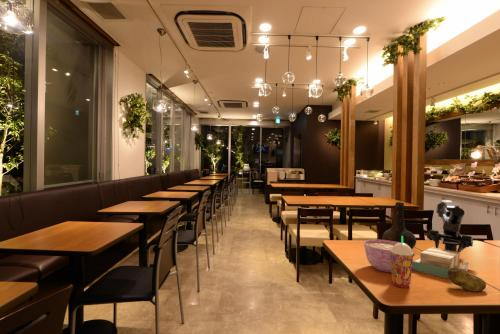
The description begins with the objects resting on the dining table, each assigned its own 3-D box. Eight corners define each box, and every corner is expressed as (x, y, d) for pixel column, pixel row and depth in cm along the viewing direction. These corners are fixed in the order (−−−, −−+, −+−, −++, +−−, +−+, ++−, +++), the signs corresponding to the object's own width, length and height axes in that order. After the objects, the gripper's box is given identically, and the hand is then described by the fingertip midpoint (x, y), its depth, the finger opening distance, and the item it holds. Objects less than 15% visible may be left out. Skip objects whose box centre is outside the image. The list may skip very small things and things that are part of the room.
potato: (487, 296, 115) (488, 275, 115) (447, 288, 122) (447, 268, 122) (485, 289, 122) (485, 269, 122) (447, 282, 129) (447, 263, 129)
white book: (426, 260, 160) (426, 252, 160) (468, 268, 147) (468, 260, 147) (411, 269, 144) (411, 261, 144) (456, 280, 131) (456, 271, 131)
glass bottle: (396, 255, 167) (397, 204, 167) (375, 247, 185) (376, 200, 184) (423, 254, 171) (424, 204, 171) (400, 245, 189) (401, 200, 189)
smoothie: (385, 281, 128) (387, 233, 128) (404, 281, 129) (406, 233, 129) (397, 289, 120) (398, 238, 120) (417, 289, 121) (418, 238, 121)
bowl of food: (418, 276, 135) (419, 250, 135) (375, 276, 134) (375, 250, 133) (394, 262, 155) (395, 239, 155) (356, 262, 153) (356, 239, 153)
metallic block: (431, 264, 154) (431, 247, 154) (459, 270, 146) (459, 252, 146) (420, 270, 144) (420, 252, 143) (449, 278, 135) (450, 258, 135)
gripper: (430, 214, 165) (422, 238, 157) (472, 219, 151) (466, 246, 144) (434, 227, 170) (427, 250, 163) (475, 233, 157) (469, 259, 149)
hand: (446, 251), depth 154 cm, fingers open, 9 cm apart
